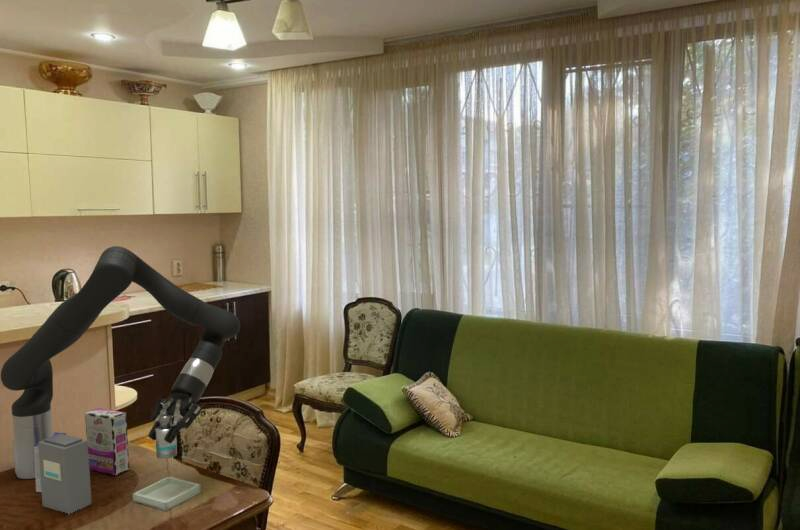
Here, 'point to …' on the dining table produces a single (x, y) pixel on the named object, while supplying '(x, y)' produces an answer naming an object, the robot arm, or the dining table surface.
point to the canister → (163, 447)
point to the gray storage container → (64, 473)
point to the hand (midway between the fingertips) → (159, 439)
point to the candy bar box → (107, 441)
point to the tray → (167, 493)
